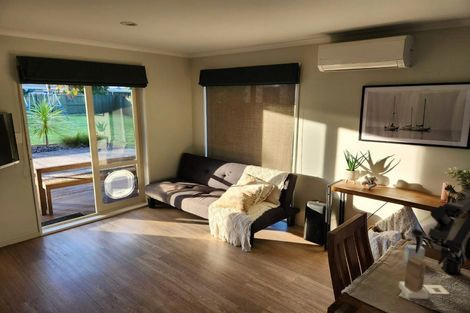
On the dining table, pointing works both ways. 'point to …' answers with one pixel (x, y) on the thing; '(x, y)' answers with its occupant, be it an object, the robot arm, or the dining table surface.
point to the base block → (412, 294)
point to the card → (435, 289)
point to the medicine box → (413, 252)
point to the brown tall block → (415, 273)
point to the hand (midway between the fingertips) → (426, 258)
